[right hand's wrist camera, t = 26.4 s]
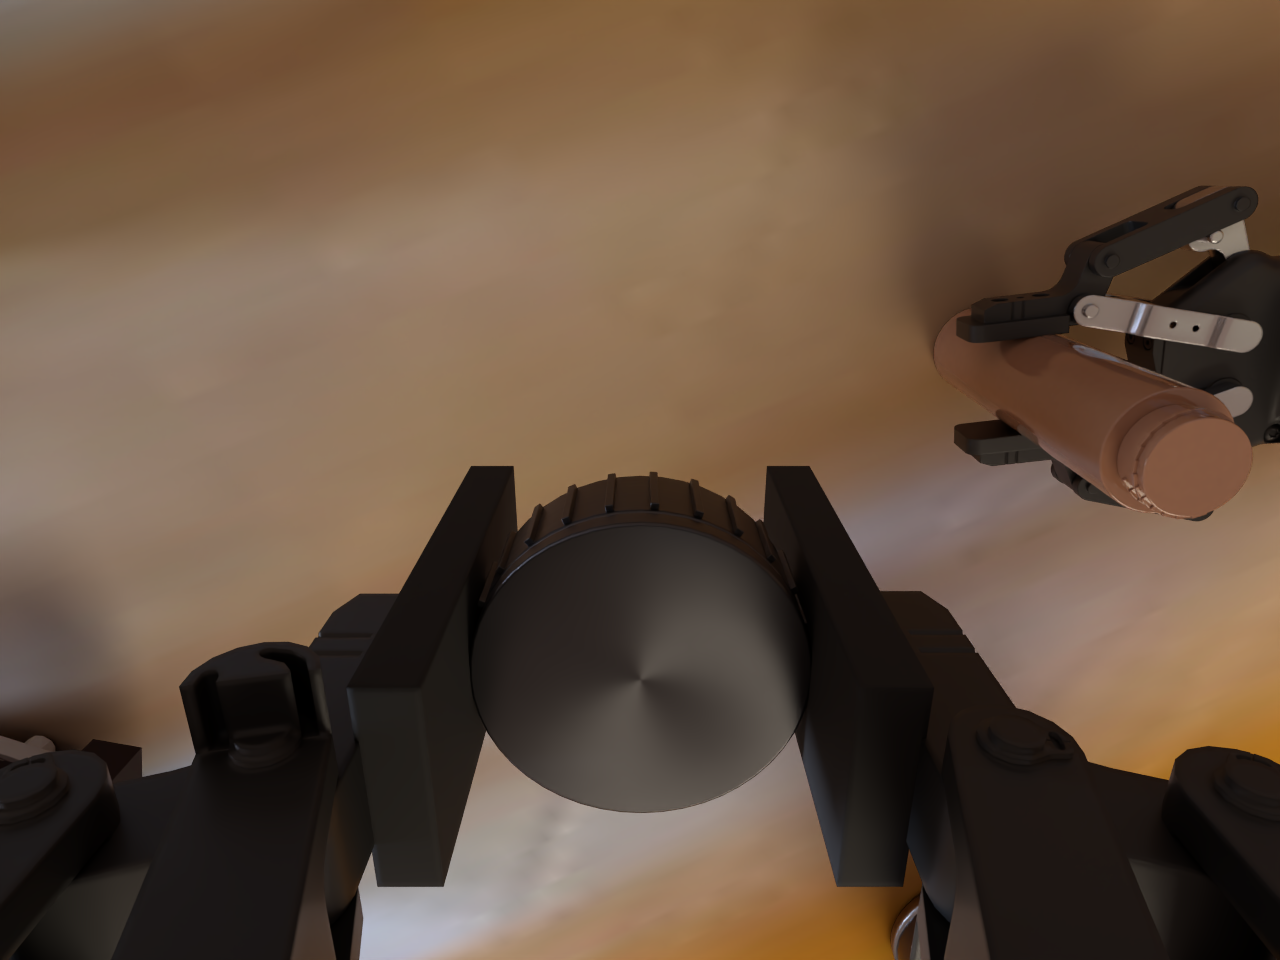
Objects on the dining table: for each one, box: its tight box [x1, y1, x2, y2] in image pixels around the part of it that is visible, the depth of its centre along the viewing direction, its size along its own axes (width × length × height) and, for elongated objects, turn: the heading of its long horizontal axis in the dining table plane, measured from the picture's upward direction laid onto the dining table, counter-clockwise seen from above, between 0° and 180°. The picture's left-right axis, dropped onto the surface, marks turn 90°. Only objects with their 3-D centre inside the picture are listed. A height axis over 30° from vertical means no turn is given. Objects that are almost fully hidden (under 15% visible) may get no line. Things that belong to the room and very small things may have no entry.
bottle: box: [934, 308, 1253, 519], centre depth 31 cm, size 4×4×17 cm
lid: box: [469, 472, 812, 813], centre depth 11 cm, size 5×5×2 cm
